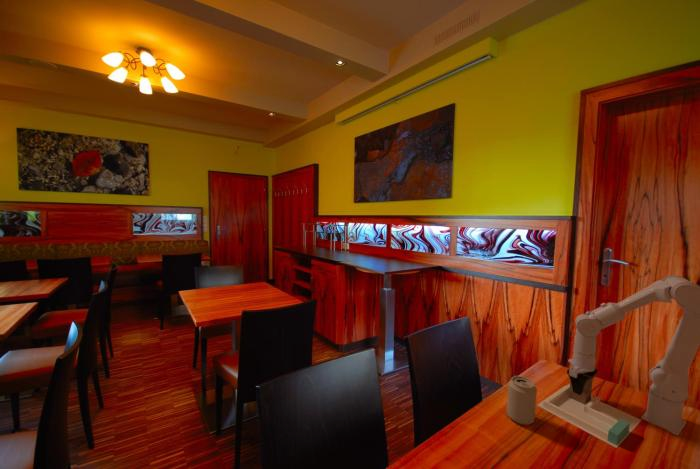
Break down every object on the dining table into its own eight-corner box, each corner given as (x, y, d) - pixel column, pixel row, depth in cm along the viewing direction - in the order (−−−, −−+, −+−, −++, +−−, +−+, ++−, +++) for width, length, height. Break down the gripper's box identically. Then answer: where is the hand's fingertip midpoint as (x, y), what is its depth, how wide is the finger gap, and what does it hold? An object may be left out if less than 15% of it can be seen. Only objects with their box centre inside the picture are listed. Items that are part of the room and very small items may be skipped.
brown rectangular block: (575, 392, 107) (577, 370, 106) (590, 399, 103) (592, 377, 102) (568, 397, 104) (571, 374, 103) (584, 404, 100) (586, 381, 100)
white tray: (565, 387, 111) (565, 377, 110) (641, 421, 94) (642, 410, 93) (536, 406, 100) (537, 396, 100) (616, 449, 83) (617, 437, 83)
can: (527, 410, 99) (530, 374, 97) (539, 427, 91) (542, 389, 90) (502, 408, 99) (505, 373, 98) (512, 425, 92) (515, 387, 90)
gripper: (580, 341, 109) (576, 378, 110) (560, 352, 101) (556, 391, 103) (604, 349, 103) (600, 388, 105) (585, 362, 95) (581, 403, 97)
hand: (580, 390), depth 103 cm, fingers closed on brown rectangular block, 4 cm apart
